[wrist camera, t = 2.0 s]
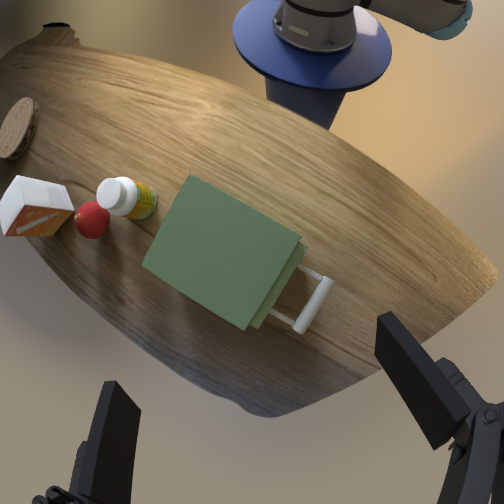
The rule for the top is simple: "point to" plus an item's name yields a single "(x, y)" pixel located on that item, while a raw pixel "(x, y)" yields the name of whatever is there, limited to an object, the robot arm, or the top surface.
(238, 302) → the cabinet
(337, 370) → the top surface
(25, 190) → the small box
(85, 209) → the onion
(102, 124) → the top surface
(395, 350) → the robot arm
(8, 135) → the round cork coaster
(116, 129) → the top surface
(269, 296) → the drawer
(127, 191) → the supplement bottle
